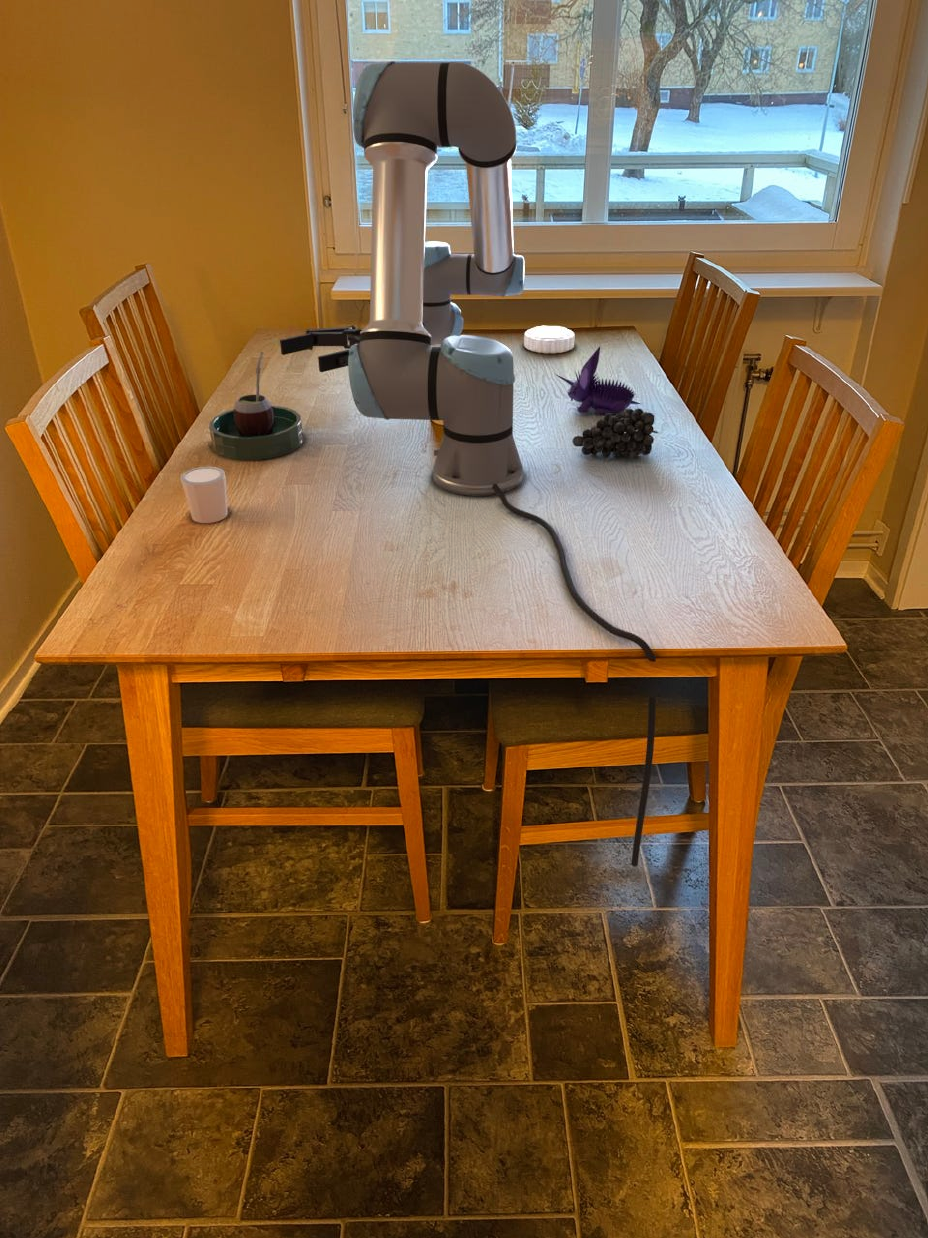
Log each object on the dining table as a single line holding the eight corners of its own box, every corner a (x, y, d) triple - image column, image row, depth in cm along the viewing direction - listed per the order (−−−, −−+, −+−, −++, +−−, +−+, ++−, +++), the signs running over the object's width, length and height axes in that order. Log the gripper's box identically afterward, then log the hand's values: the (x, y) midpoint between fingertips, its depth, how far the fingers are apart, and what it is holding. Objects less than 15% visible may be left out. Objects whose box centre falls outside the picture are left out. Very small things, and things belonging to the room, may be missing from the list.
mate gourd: (242, 450, 170) (230, 369, 162) (233, 435, 176) (221, 356, 168) (282, 443, 173) (273, 363, 164) (272, 429, 179) (262, 351, 170)
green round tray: (305, 456, 169) (303, 434, 167) (211, 463, 166) (207, 441, 164) (300, 422, 183) (298, 402, 180) (214, 429, 180) (210, 408, 178)
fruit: (574, 410, 162) (661, 408, 161) (570, 409, 170) (653, 406, 169) (574, 461, 164) (660, 458, 163) (570, 457, 172) (652, 455, 171)
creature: (553, 399, 192) (556, 340, 186) (641, 404, 190) (648, 344, 183) (549, 415, 185) (552, 354, 178) (641, 420, 183) (647, 358, 176)
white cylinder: (220, 526, 146) (213, 485, 142) (180, 522, 147) (172, 482, 143) (238, 507, 152) (232, 467, 148) (199, 503, 153) (191, 464, 149)
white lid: (547, 335, 230) (548, 321, 228) (584, 346, 223) (585, 331, 221) (513, 345, 224) (513, 330, 222) (550, 357, 216) (550, 341, 214)
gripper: (432, 368, 178) (338, 392, 166) (359, 339, 194) (269, 359, 183) (431, 328, 174) (335, 350, 162) (356, 302, 190) (264, 321, 179)
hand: (299, 355), depth 173 cm, fingers open, 13 cm apart
